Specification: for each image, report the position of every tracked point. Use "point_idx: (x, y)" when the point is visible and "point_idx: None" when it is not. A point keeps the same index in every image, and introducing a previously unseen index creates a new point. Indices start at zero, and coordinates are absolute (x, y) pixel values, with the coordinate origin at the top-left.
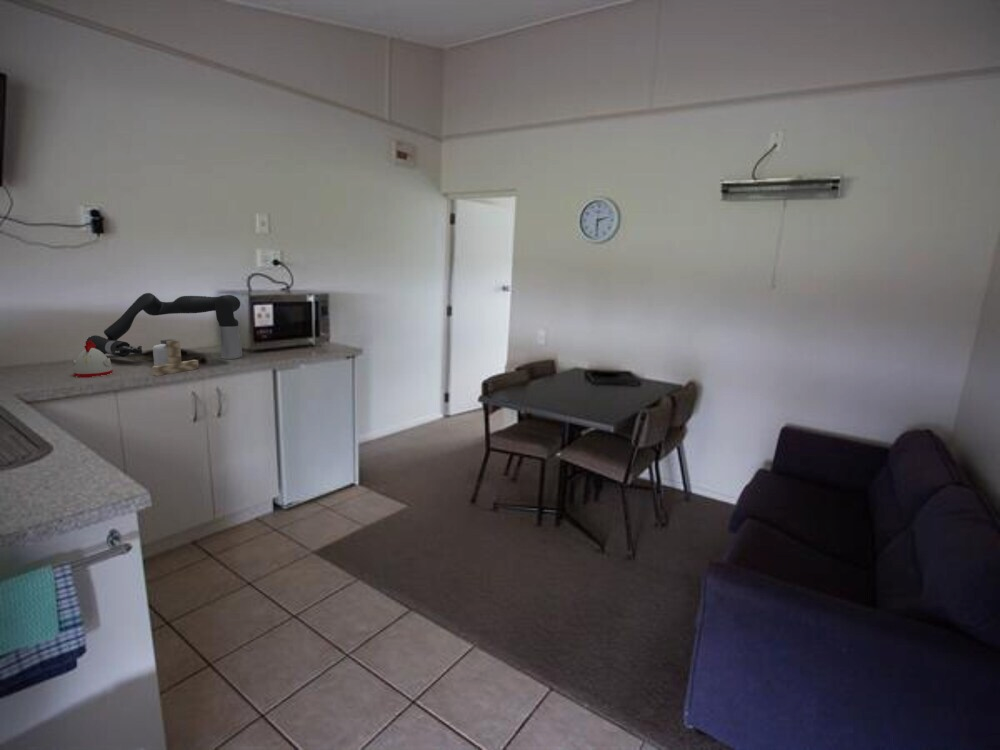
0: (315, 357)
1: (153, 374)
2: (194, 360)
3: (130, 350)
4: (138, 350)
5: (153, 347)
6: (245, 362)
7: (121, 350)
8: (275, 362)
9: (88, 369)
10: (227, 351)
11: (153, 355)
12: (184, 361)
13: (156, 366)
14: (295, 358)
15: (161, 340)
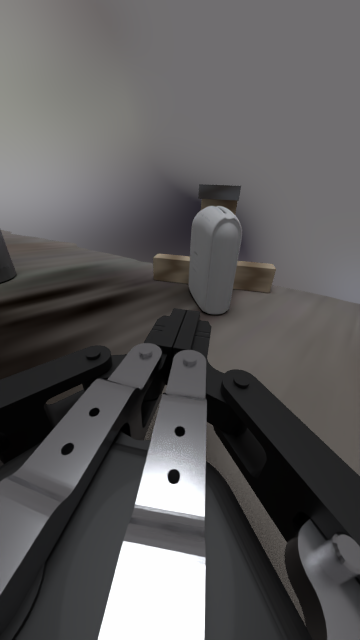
0: (22, 236)
1: (269, 289)
2: (162, 255)
3: (217, 375)
4: (199, 314)
5: (240, 224)
6: (70, 258)
7: (318, 454)
8: (71, 245)
9: None
10: (6, 251)
11: (237, 259)
12: (183, 259)
13: (267, 265)
14: (28, 241)
15: (238, 186)
